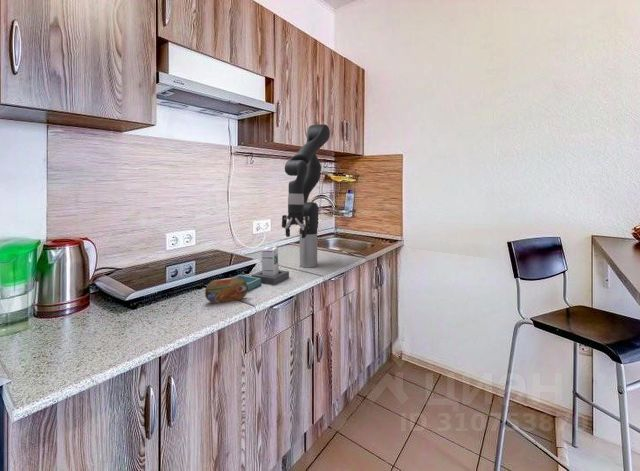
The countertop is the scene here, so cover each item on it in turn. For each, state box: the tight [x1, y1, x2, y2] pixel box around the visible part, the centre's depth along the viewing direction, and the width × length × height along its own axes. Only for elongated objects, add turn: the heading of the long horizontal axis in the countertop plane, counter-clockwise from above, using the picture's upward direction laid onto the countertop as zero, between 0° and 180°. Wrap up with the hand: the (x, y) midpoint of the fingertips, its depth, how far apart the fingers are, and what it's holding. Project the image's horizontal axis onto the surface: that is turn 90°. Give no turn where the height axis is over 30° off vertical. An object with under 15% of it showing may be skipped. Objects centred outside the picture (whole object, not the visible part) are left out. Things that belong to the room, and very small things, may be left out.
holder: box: [250, 269, 290, 286], centre depth 140 cm, size 12×12×3 cm
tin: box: [204, 276, 249, 304], centre depth 114 cm, size 15×3×8 cm, turn 114°
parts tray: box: [232, 274, 262, 293], centre depth 129 cm, size 12×12×3 cm
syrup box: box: [260, 246, 279, 277], centre depth 139 cm, size 6×6×14 cm
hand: (295, 237), depth 149 cm, fingers open, 8 cm apart
